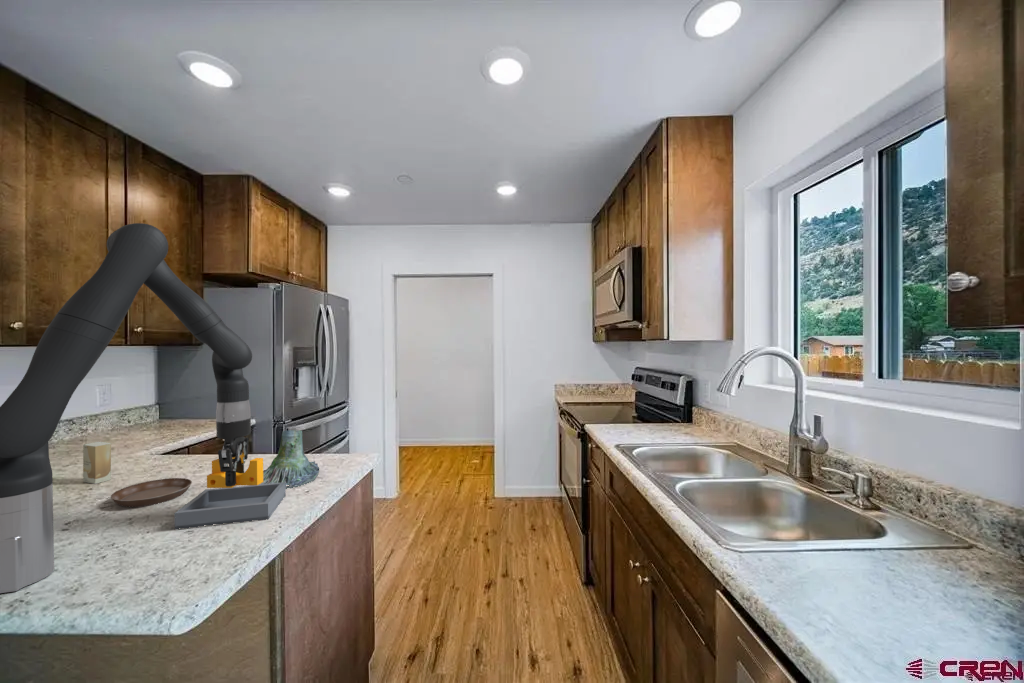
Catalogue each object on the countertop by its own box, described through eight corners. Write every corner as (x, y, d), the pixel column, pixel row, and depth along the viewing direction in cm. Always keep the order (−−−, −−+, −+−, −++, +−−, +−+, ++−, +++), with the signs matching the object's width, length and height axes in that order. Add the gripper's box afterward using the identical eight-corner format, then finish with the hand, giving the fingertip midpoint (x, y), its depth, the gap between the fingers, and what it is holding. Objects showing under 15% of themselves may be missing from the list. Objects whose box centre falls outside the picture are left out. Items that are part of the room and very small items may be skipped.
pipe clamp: (206, 488, 106) (206, 463, 106) (219, 482, 110) (218, 458, 110) (252, 487, 106) (252, 462, 106) (263, 481, 110) (263, 457, 110)
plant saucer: (207, 487, 127) (207, 478, 126) (151, 512, 109) (151, 500, 109) (155, 486, 128) (155, 476, 128) (92, 510, 111) (91, 499, 111)
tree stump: (242, 494, 121) (245, 432, 125) (271, 487, 141) (272, 434, 145) (308, 487, 124) (308, 427, 128) (327, 481, 144) (327, 429, 148)
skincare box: (82, 482, 132) (81, 444, 132) (99, 477, 136) (98, 441, 136) (95, 484, 130) (94, 445, 130) (112, 479, 134) (111, 442, 134)
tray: (268, 519, 103) (268, 503, 103) (174, 529, 98) (174, 513, 98) (285, 495, 119) (285, 482, 119) (205, 503, 113) (205, 489, 113)
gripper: (228, 413, 114) (229, 474, 114) (204, 424, 100) (206, 493, 100) (258, 412, 116) (260, 472, 116) (239, 422, 102) (241, 490, 102)
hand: (235, 481), depth 108 cm, fingers closed on pipe clamp, 5 cm apart
